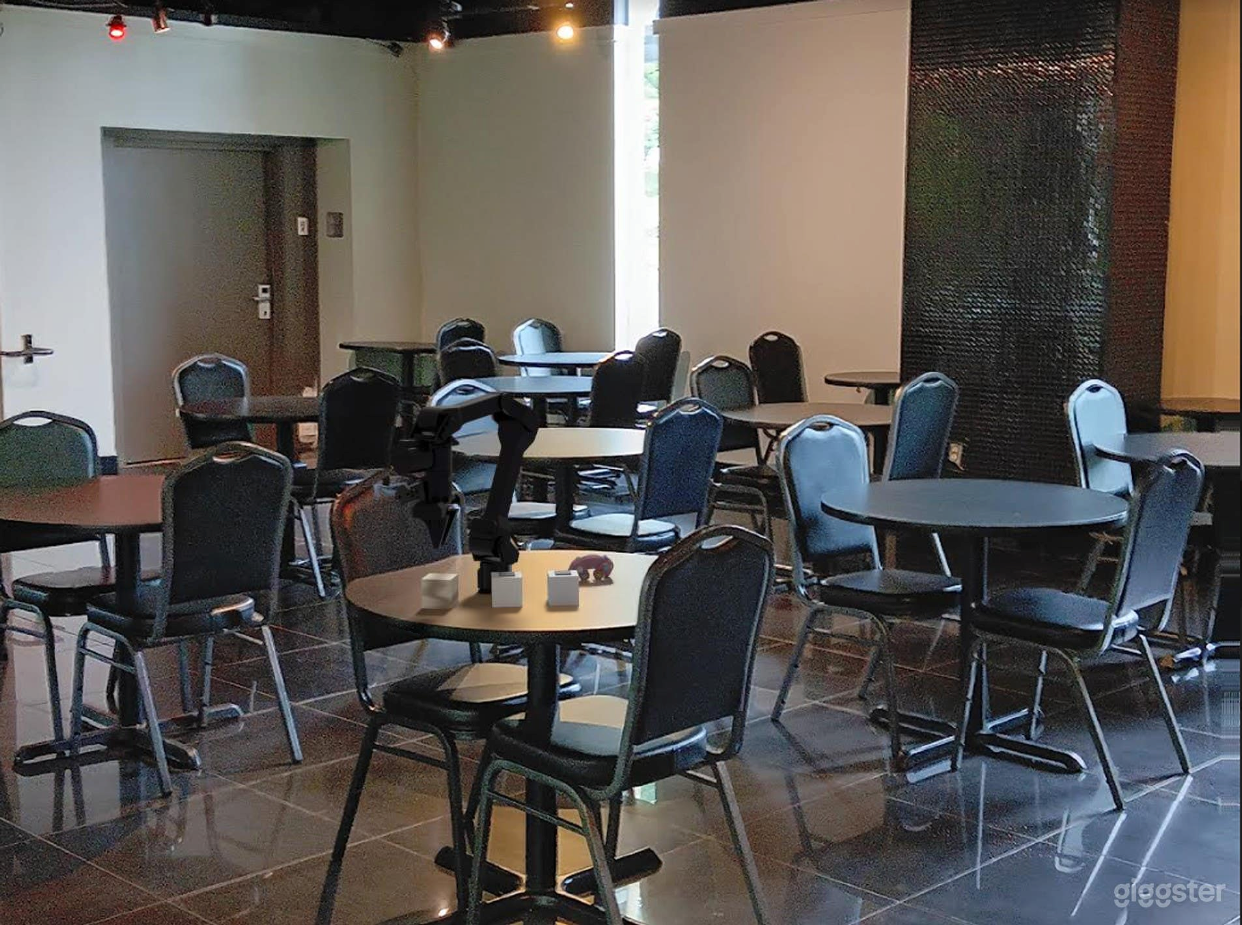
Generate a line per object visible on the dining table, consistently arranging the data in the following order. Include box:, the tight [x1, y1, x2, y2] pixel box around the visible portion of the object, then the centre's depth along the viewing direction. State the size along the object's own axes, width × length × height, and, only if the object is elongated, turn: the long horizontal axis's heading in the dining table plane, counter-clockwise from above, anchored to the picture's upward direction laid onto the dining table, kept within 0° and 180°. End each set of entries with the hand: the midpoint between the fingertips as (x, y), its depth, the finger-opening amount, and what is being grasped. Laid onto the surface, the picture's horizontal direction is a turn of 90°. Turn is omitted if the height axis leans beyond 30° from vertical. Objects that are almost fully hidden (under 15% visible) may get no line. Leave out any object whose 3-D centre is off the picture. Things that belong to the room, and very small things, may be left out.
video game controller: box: [567, 553, 615, 581], centre depth 334 cm, size 10×5×7 cm, turn 107°
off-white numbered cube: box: [491, 571, 524, 608], centre depth 311 cm, size 6×6×6 cm
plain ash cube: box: [420, 572, 459, 610], centre depth 309 cm, size 6×6×6 cm
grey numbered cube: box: [546, 569, 580, 607], centre depth 312 cm, size 6×6×6 cm
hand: (439, 546), depth 308 cm, fingers open, 4 cm apart
